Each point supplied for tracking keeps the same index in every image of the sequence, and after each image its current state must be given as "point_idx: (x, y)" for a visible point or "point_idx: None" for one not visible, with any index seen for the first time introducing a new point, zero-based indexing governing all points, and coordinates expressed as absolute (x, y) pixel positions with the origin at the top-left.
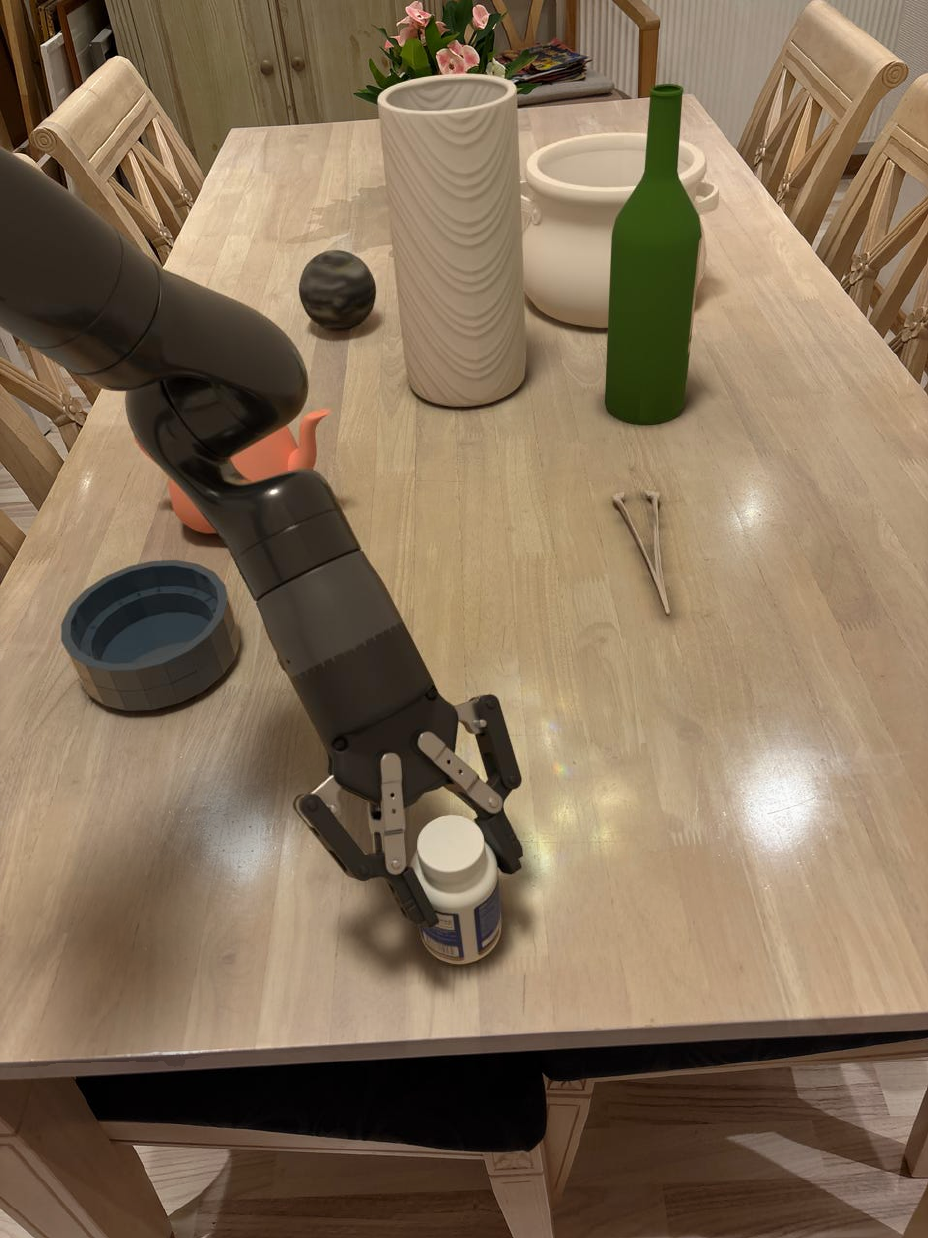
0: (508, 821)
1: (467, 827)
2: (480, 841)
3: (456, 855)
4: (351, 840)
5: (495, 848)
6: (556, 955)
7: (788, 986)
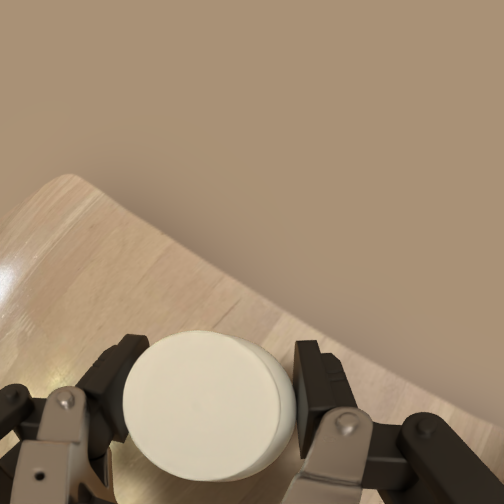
0: (82, 379)
1: (141, 409)
2: (144, 360)
3: (207, 369)
4: (450, 488)
5: None
6: (175, 323)
7: (88, 203)
